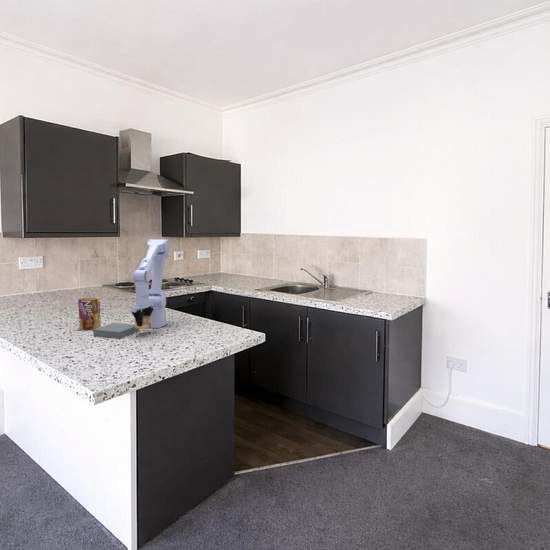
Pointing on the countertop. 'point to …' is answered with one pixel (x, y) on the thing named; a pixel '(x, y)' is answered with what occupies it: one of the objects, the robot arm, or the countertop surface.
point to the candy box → (89, 313)
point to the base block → (115, 330)
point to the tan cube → (144, 323)
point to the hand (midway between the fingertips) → (143, 324)
